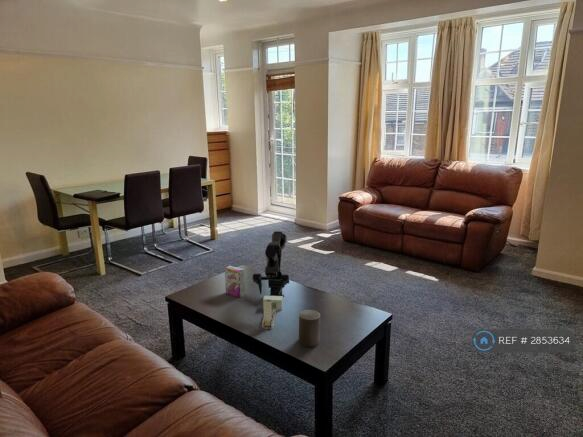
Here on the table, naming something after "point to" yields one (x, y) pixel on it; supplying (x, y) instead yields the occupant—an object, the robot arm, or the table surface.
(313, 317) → the pillar candle
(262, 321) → the u-shaped channel
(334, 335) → the table surface
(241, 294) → the candy bar box
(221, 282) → the table surface
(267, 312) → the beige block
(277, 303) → the socket block
